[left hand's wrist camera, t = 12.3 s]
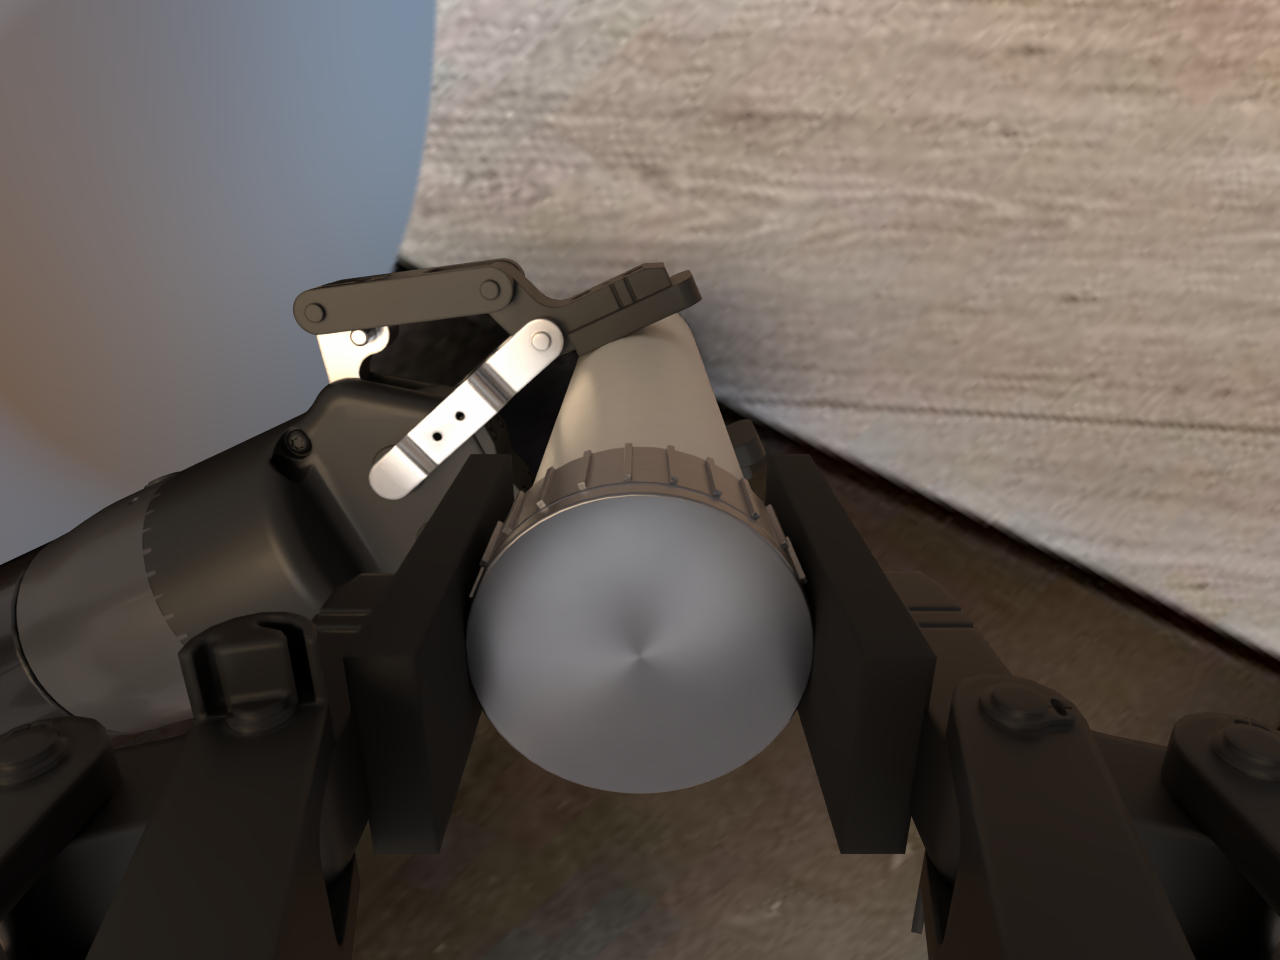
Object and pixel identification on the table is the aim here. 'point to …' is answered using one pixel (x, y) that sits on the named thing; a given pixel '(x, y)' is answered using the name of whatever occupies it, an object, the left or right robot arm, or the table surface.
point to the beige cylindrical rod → (641, 400)
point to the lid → (639, 622)
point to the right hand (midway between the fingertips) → (724, 363)
